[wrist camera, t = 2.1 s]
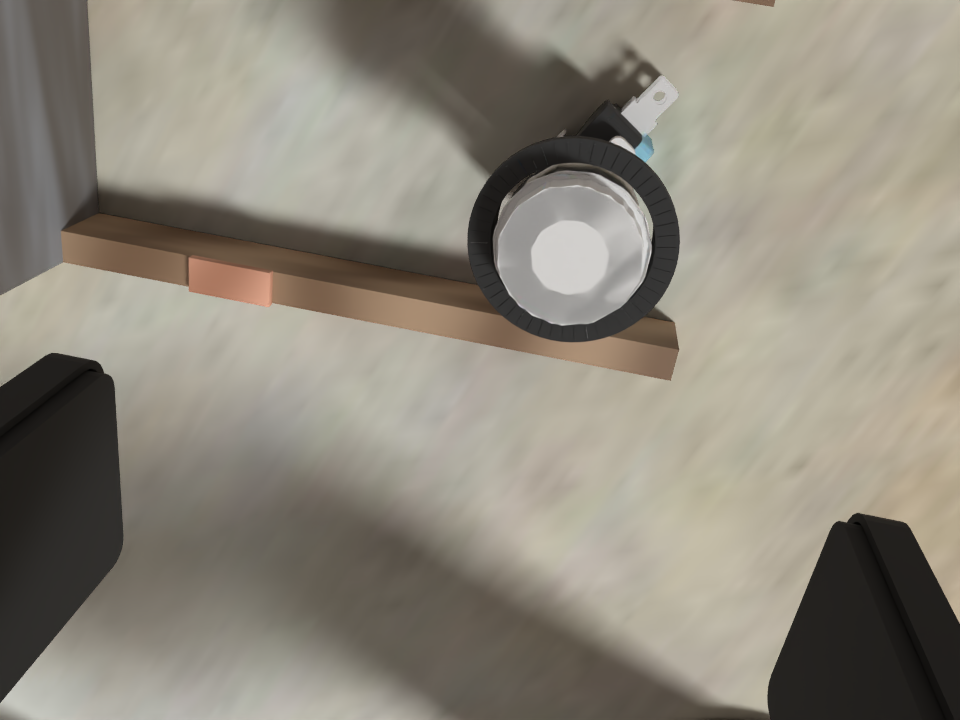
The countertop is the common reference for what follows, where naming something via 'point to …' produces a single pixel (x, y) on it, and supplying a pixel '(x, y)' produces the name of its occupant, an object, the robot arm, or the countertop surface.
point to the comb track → (205, 257)
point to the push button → (579, 227)
